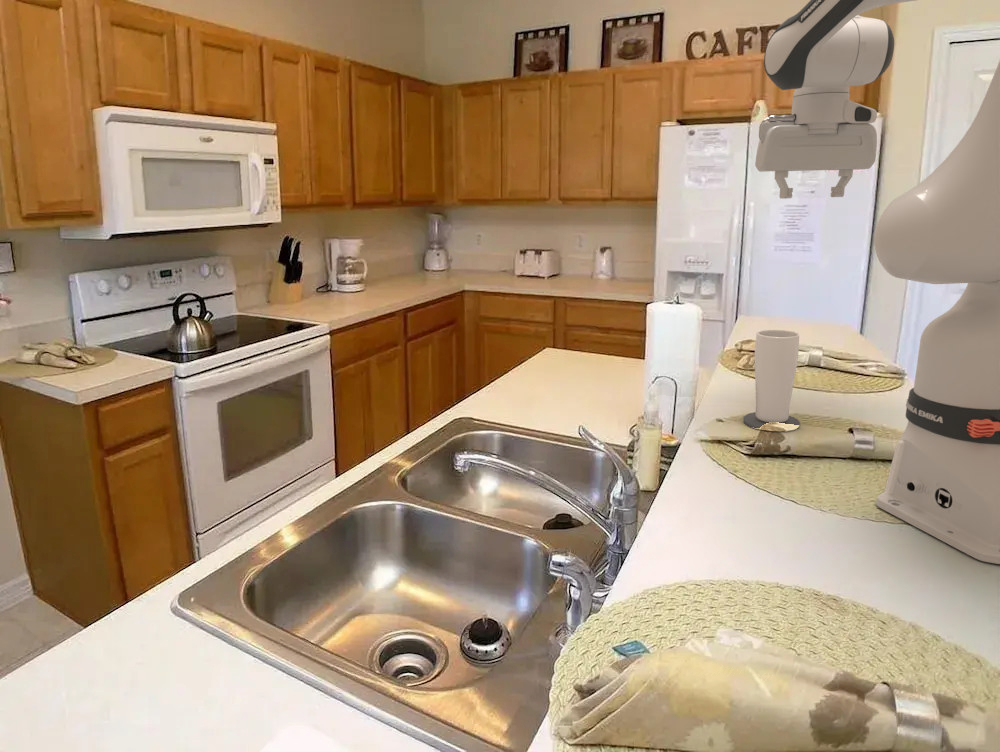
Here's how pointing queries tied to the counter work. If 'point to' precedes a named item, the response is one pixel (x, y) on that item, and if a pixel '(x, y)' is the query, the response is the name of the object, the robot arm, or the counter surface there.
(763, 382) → the drinking glass
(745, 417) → the coaster
